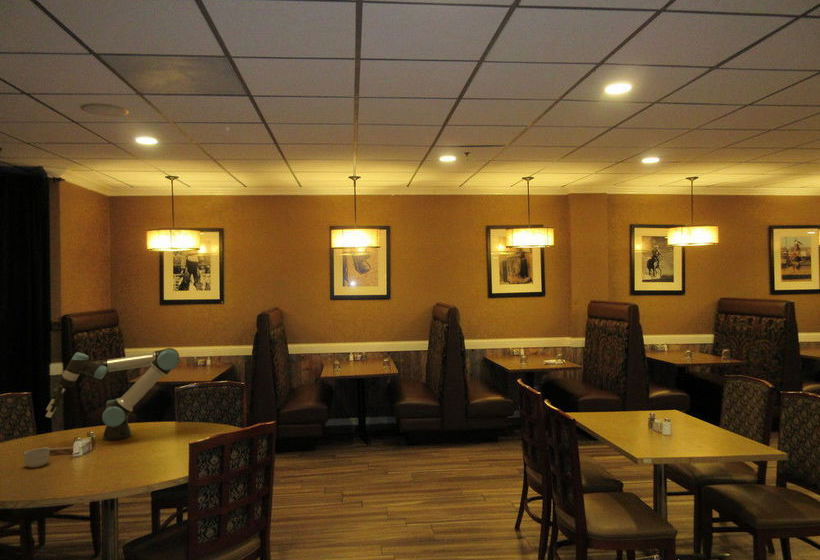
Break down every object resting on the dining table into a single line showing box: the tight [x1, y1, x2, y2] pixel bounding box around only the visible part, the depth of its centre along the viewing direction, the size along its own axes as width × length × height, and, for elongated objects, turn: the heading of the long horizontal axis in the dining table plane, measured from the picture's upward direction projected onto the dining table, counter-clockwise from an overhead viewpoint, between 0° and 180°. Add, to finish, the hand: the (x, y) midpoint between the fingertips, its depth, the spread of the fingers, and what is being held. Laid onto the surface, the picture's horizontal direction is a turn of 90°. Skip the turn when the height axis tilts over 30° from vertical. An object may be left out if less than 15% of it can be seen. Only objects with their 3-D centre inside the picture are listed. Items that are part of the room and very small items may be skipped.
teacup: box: [23, 446, 50, 468], centre depth 275 cm, size 14×11×8 cm
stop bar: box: [49, 446, 74, 457], centre depth 293 cm, size 22×3×3 cm, turn 99°
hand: (48, 413), depth 302 cm, fingers open, 13 cm apart
